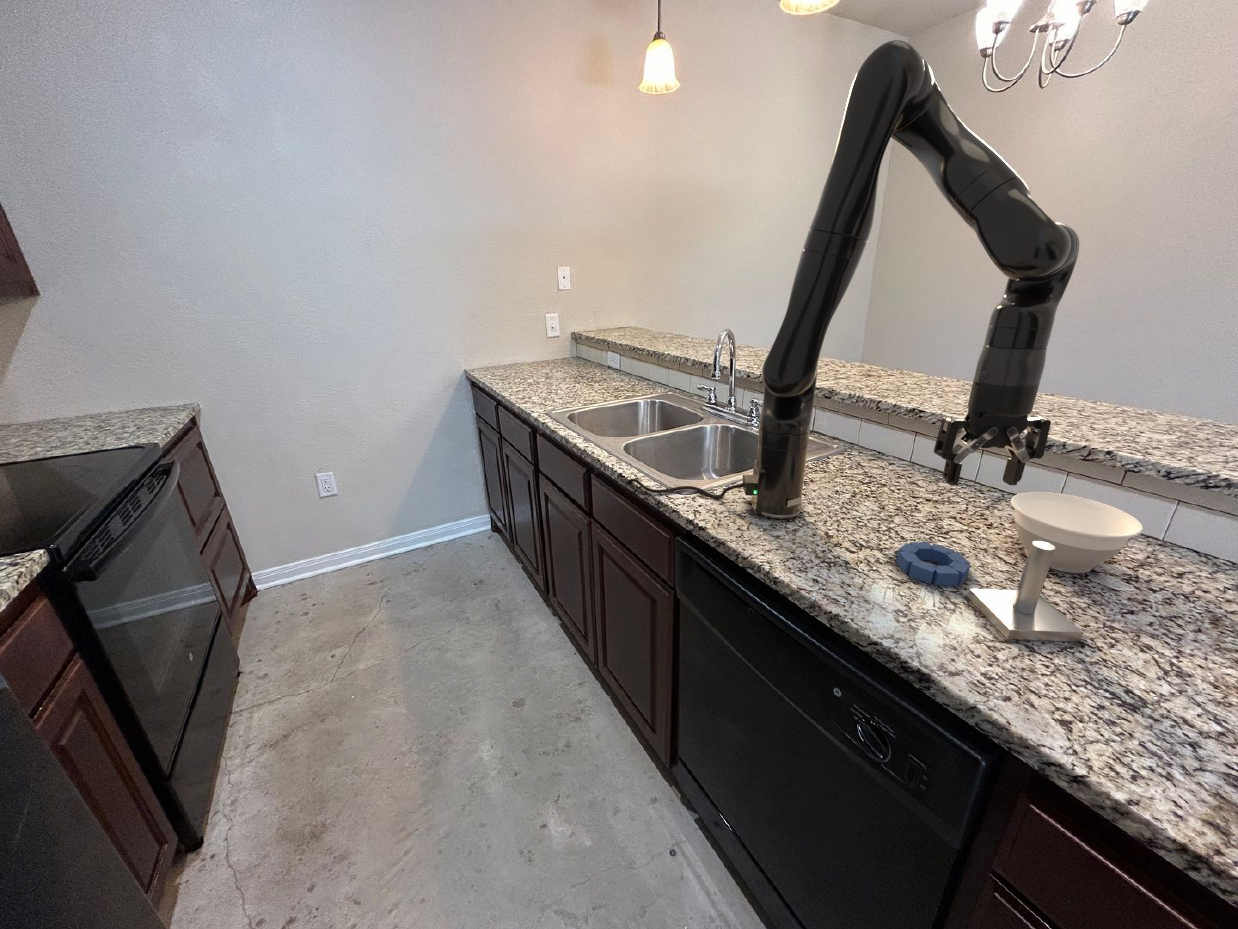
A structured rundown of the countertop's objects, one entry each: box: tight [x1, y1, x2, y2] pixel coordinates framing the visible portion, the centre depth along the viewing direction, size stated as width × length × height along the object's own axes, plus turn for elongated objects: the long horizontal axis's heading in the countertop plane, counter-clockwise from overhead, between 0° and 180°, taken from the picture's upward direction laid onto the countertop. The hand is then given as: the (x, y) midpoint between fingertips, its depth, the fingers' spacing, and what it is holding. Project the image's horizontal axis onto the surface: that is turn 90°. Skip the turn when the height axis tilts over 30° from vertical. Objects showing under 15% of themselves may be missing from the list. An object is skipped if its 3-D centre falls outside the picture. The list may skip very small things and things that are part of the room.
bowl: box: [1010, 491, 1144, 574], centre depth 81 cm, size 16×16×9 cm
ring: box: [896, 541, 971, 587], centre depth 80 cm, size 9×9×2 cm
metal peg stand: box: [967, 541, 1085, 642], centre depth 67 cm, size 9×9×12 cm
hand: (979, 483), depth 76 cm, fingers open, 8 cm apart
